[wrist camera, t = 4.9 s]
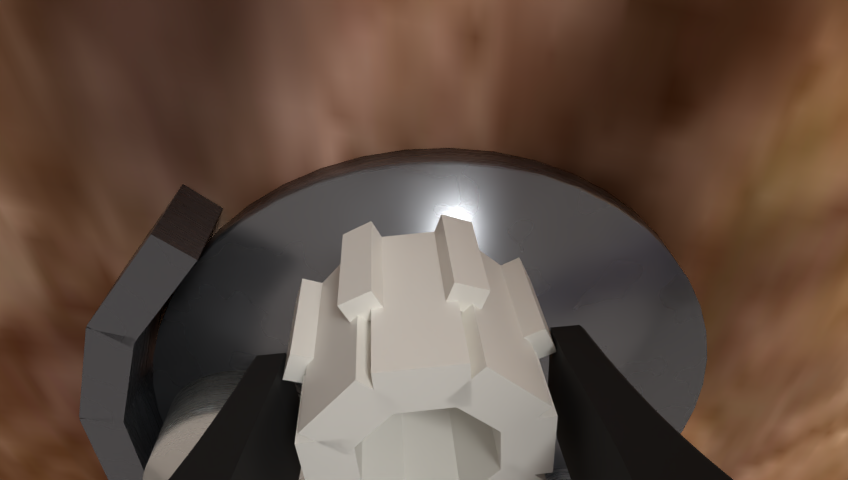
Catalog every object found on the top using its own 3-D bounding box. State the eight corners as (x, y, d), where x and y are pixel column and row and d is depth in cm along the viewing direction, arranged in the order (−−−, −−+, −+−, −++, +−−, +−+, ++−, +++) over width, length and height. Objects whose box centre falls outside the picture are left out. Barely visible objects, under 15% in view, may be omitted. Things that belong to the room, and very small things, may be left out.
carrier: (797, 352, 20) (877, 449, 17) (431, 589, 28) (437, 688, 25) (339, -42, 13) (320, -6, 10) (14, 427, 21) (-59, 537, 17)
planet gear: (575, 299, 14) (638, 436, 11) (426, 422, 16) (440, 570, 13) (401, 169, 12) (413, 292, 9) (254, 331, 14) (217, 482, 11)
